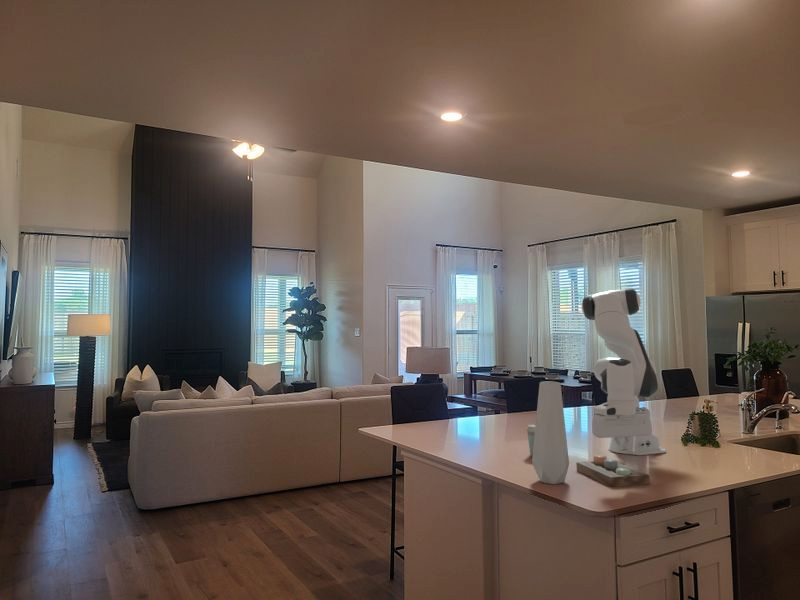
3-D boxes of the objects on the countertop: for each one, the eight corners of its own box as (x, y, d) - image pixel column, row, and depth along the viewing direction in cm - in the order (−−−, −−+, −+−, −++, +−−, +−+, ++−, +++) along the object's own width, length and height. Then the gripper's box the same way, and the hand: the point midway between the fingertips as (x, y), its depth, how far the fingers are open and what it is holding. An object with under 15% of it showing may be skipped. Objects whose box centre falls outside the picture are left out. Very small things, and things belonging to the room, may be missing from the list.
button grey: (613, 467, 192) (613, 459, 193) (620, 470, 188) (620, 461, 188) (601, 468, 192) (601, 459, 192) (609, 471, 187) (608, 462, 187)
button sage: (625, 476, 185) (625, 467, 186) (633, 480, 181) (632, 470, 181) (613, 477, 185) (613, 468, 185) (621, 480, 180) (620, 471, 180)
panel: (611, 468, 202) (611, 460, 202) (649, 484, 180) (649, 474, 180) (576, 470, 199) (576, 461, 199) (610, 486, 178) (610, 477, 178)
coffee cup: (549, 458, 219) (548, 427, 220) (527, 457, 221) (526, 427, 221) (548, 453, 227) (547, 424, 228) (526, 453, 229) (526, 423, 230)
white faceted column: (578, 485, 180) (576, 383, 182) (545, 487, 177) (543, 384, 180) (560, 475, 192) (557, 380, 194) (529, 477, 189) (527, 381, 191)
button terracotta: (602, 463, 199) (602, 454, 199) (609, 466, 195) (609, 457, 195) (591, 463, 198) (591, 455, 199) (597, 466, 194) (597, 458, 194)
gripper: (643, 405, 189) (645, 446, 189) (589, 408, 185) (590, 449, 185) (655, 408, 183) (657, 450, 182) (599, 410, 179) (600, 453, 178)
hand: (623, 450), depth 184 cm, fingers closed
